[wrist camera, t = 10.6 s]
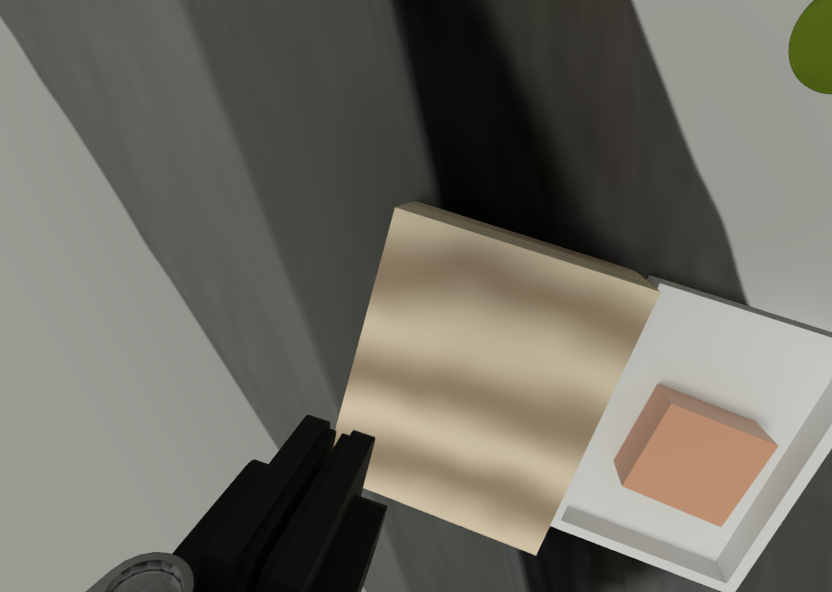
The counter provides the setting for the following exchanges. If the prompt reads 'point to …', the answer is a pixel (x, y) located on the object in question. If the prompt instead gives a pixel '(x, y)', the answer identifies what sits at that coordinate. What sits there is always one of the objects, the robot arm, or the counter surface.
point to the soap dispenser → (813, 47)
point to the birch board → (487, 369)
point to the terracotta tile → (692, 455)
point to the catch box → (725, 388)
